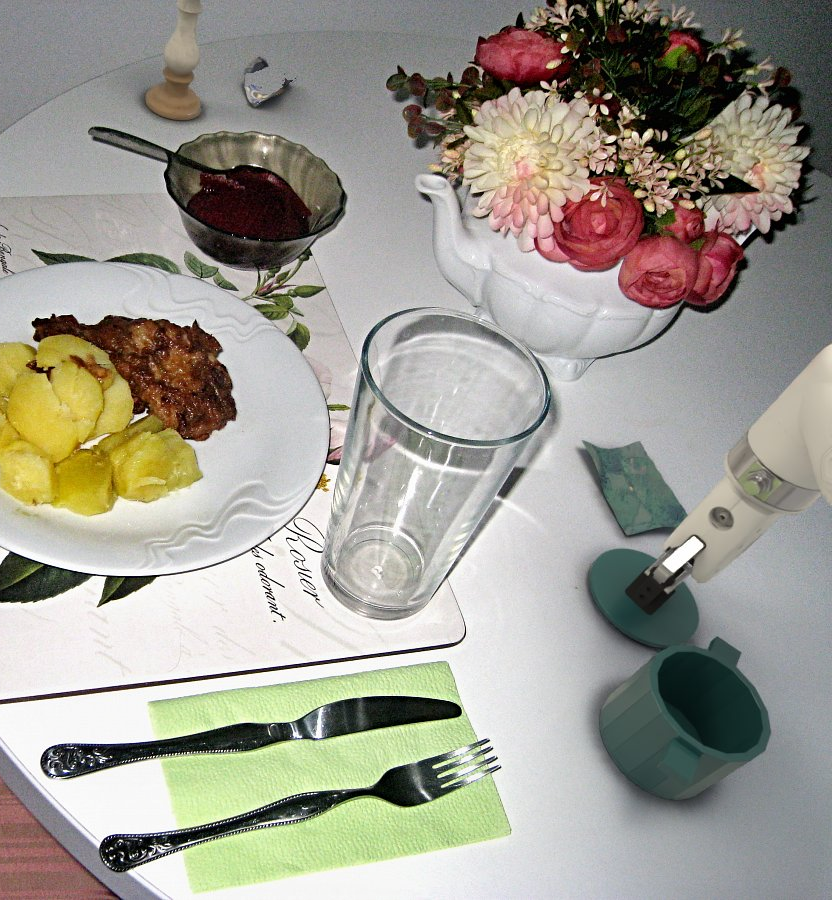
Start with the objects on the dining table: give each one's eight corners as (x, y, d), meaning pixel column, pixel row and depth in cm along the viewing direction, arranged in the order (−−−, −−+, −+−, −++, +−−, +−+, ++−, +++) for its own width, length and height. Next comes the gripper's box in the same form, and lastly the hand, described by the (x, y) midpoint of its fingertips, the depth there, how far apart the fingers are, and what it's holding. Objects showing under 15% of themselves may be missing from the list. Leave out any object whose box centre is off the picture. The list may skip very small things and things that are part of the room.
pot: (730, 719, 84) (789, 677, 78) (680, 850, 75) (744, 814, 68) (631, 649, 87) (681, 604, 81) (571, 766, 78) (622, 725, 71)
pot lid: (705, 601, 94) (745, 565, 89) (672, 673, 87) (714, 639, 82) (608, 536, 97) (641, 498, 92) (569, 600, 90) (603, 563, 85)
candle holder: (178, 87, 142) (201, -48, 128) (212, 115, 139) (239, -20, 124) (133, 96, 138) (151, -43, 123) (167, 125, 134) (190, -14, 119)
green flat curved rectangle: (685, 534, 99) (694, 524, 98) (624, 537, 97) (632, 527, 96) (632, 447, 107) (640, 436, 106) (575, 449, 105) (582, 438, 104)
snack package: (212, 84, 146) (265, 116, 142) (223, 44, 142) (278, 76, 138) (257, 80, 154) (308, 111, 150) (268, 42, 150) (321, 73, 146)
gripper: (766, 541, 70) (648, 651, 82) (858, 464, 79) (739, 573, 91) (687, 475, 73) (585, 590, 85) (784, 409, 82) (679, 521, 94)
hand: (664, 581), depth 88 cm, fingers open, 9 cm apart
